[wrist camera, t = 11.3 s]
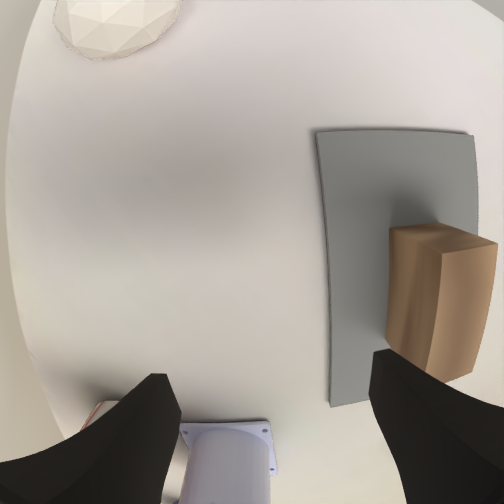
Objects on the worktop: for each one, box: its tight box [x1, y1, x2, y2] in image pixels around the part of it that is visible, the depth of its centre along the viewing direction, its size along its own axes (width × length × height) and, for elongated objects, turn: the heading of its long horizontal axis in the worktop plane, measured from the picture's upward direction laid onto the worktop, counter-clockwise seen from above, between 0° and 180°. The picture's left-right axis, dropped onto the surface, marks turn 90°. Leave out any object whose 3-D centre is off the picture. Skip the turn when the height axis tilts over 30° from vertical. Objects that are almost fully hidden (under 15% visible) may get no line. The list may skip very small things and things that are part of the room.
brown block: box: [385, 222, 498, 383], centre depth 14 cm, size 4×8×6 cm, turn 8°
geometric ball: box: [52, 0, 182, 60], centre depth 10 cm, size 8×8×8 cm
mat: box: [315, 130, 478, 408], centre depth 18 cm, size 20×12×1 cm, turn 8°
